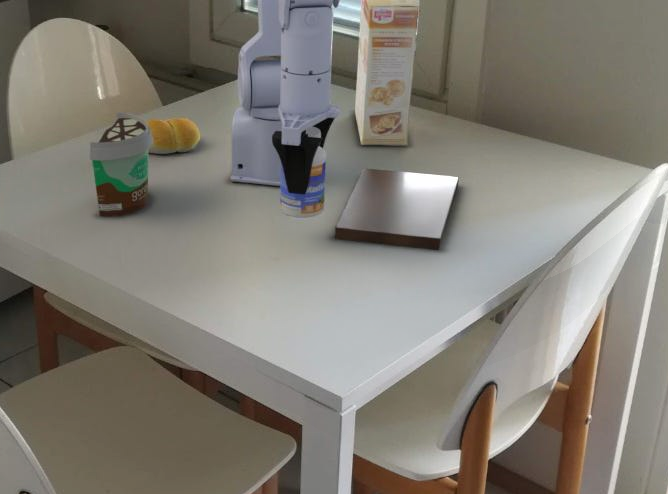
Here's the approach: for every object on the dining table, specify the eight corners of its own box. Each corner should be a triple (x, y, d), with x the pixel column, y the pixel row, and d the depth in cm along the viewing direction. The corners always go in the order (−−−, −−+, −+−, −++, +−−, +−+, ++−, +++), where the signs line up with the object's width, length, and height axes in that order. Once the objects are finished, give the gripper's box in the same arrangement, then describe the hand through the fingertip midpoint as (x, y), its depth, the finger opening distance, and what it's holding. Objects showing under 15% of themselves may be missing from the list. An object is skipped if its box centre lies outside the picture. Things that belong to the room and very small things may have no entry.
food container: (142, 224, 140) (136, 147, 134) (96, 220, 141) (88, 143, 135) (167, 186, 150) (163, 113, 144) (123, 183, 151) (118, 110, 145)
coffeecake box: (408, 146, 162) (420, 5, 150) (359, 146, 162) (368, 5, 150) (399, 111, 173) (409, -22, 161) (353, 111, 174) (360, -22, 162)
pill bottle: (310, 222, 132) (312, 142, 126) (271, 212, 134) (272, 134, 128) (332, 206, 135) (335, 128, 129) (294, 197, 138) (295, 120, 132)
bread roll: (207, 151, 160) (206, 123, 158) (147, 159, 158) (145, 131, 156) (190, 132, 166) (189, 105, 164) (132, 139, 164) (131, 112, 162)
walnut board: (334, 238, 137) (335, 227, 136) (363, 178, 152) (363, 167, 151) (439, 250, 134) (440, 238, 133) (457, 187, 149) (459, 176, 148)
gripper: (327, 90, 118) (322, 210, 126) (352, 51, 129) (346, 164, 137) (263, 85, 119) (263, 204, 128) (294, 46, 130) (291, 158, 139)
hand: (302, 183), depth 132 cm, fingers closed on pill bottle, 5 cm apart
